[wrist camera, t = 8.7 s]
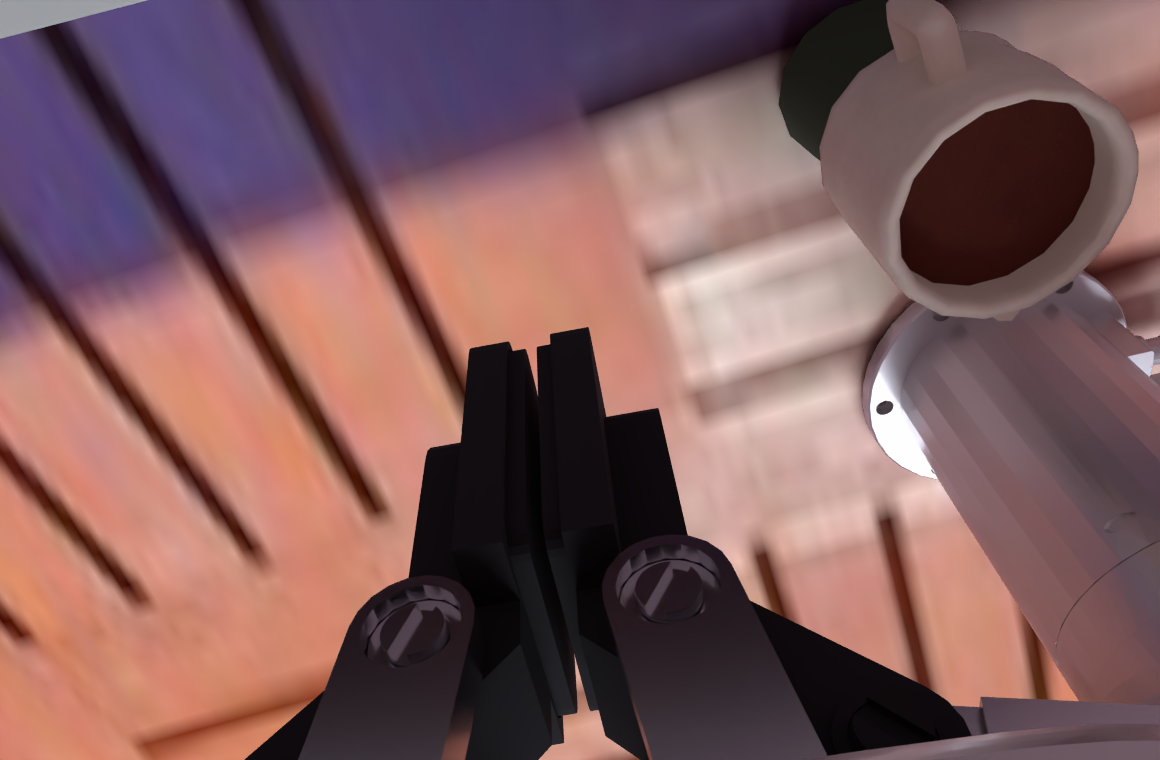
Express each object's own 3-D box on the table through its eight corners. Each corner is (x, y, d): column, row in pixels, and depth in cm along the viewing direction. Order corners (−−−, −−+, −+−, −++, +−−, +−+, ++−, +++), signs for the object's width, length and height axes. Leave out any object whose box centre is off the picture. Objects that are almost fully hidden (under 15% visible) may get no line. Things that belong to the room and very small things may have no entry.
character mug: (969, 155, 37) (1159, 306, 27) (810, 229, 39) (931, 402, 28) (905, -107, 32) (1116, -47, 21) (721, -8, 33) (830, 95, 22)
